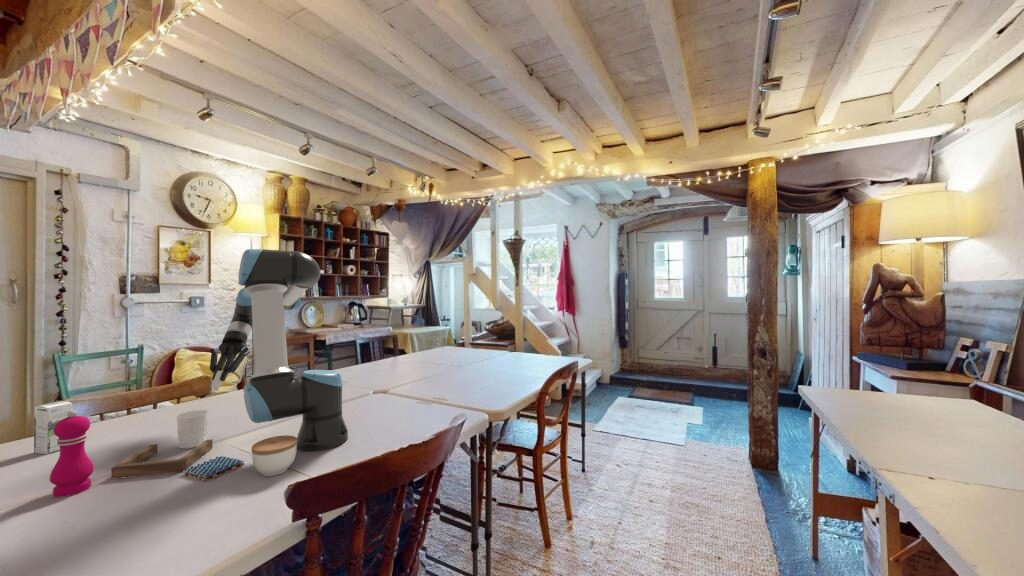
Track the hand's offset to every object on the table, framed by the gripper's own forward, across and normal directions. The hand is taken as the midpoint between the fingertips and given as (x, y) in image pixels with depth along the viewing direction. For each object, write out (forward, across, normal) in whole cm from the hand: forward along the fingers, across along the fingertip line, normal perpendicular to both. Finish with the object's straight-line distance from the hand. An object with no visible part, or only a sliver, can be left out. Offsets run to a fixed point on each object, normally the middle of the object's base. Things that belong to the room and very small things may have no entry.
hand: (214, 388), depth 135 cm
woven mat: (+35, -16, +13) cm, 40 cm away
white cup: (+19, +1, -2) cm, 19 cm away
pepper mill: (+37, +13, +16) cm, 43 cm away
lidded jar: (+37, -32, +16) cm, 52 cm away
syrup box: (+15, +41, -6) cm, 44 cm away
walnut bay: (+28, +1, +7) cm, 29 cm away
